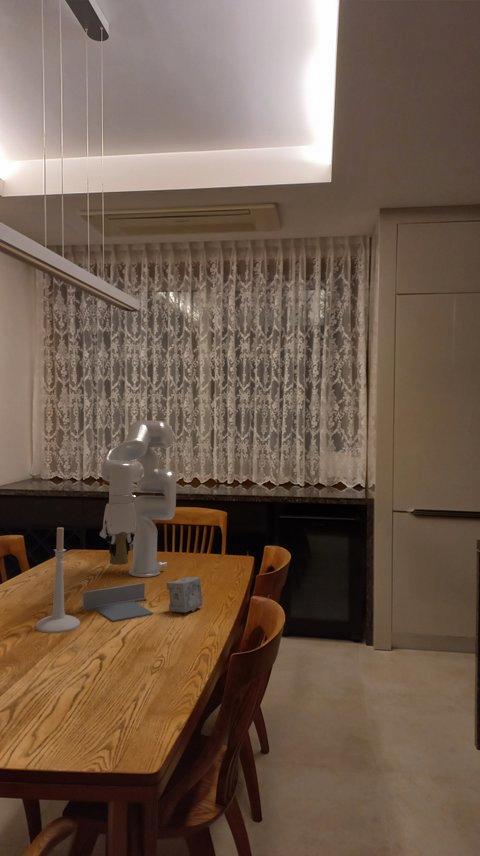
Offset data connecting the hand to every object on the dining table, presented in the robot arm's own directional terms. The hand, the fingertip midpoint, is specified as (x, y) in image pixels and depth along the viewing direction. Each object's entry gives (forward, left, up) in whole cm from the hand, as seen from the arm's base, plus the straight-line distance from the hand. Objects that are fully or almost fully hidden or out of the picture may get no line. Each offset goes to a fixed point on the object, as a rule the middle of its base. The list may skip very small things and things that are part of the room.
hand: (119, 554), depth 198 cm
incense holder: (-18, +14, -18) cm, 29 cm away
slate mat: (0, +6, -18) cm, 19 cm away
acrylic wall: (-1, -4, -18) cm, 18 cm away
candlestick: (+22, +7, -18) cm, 30 cm away
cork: (0, 0, -3) cm, 3 cm away
